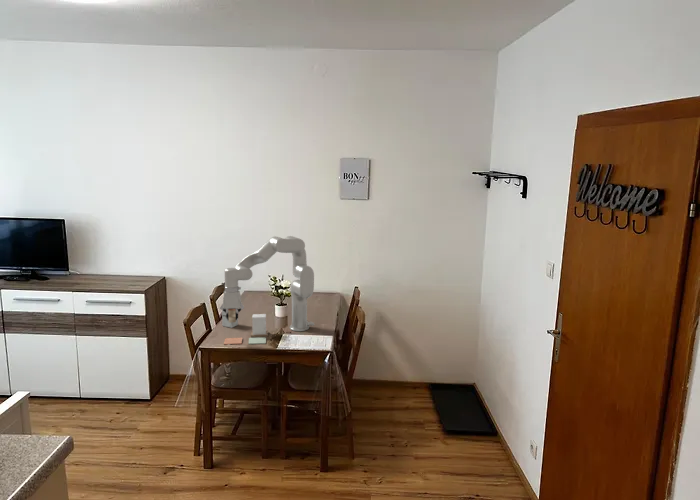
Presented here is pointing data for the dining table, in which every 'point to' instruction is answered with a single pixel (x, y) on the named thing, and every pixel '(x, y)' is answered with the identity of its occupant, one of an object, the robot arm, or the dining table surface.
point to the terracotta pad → (233, 341)
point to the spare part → (232, 315)
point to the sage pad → (257, 340)
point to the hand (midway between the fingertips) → (232, 319)
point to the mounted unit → (259, 326)
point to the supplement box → (226, 321)
